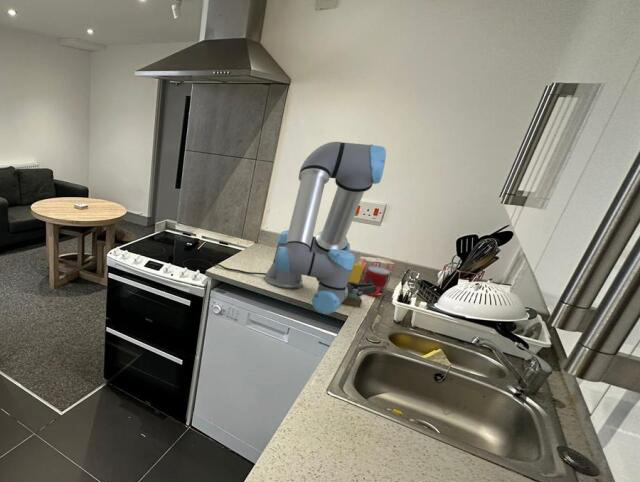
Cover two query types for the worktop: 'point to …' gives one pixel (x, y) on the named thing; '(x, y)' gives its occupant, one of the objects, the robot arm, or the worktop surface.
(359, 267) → the bar
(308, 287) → the worktop surface
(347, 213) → the robot arm
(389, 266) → the stack of blocks
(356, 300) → the green brown stepped block
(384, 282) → the canned food
